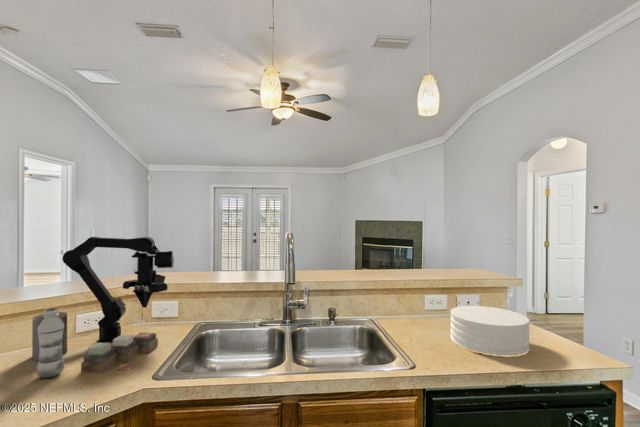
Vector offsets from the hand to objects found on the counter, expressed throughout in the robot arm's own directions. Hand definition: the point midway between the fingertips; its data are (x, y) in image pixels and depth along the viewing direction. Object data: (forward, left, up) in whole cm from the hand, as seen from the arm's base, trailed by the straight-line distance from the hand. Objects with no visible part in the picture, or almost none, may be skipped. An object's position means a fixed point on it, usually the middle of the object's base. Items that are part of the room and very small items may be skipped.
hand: (144, 307), depth 141 cm
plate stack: (+137, -5, -12) cm, 138 cm away
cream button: (+3, -21, -7) cm, 22 cm away
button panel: (+2, -21, -12) cm, 24 cm away
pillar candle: (-24, -18, -12) cm, 32 cm away
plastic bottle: (-12, -34, -12) cm, 38 cm away
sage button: (-1, -28, -8) cm, 29 cm away
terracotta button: (+6, -13, -9) cm, 17 cm away
